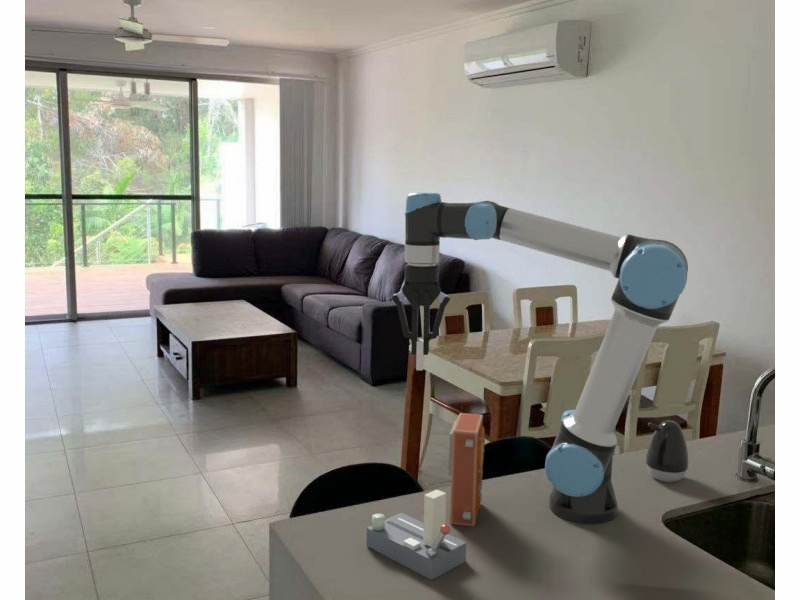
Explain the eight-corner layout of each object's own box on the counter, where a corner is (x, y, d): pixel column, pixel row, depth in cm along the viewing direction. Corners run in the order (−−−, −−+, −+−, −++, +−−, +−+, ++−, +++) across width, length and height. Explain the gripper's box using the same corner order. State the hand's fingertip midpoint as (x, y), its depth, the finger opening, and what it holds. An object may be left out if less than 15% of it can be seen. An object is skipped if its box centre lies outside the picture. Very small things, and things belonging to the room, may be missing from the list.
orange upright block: (483, 500, 174) (477, 529, 160) (453, 497, 175) (444, 526, 161) (486, 412, 171) (480, 434, 156) (456, 410, 172) (447, 431, 157)
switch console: (366, 545, 152) (366, 524, 151) (400, 530, 159) (401, 509, 158) (431, 580, 139) (432, 556, 139) (465, 561, 146) (466, 538, 146)
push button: (369, 527, 151) (369, 516, 150) (378, 523, 152) (378, 512, 152) (378, 531, 149) (378, 520, 148) (387, 527, 151) (387, 516, 150)
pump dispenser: (640, 469, 195) (644, 413, 192) (681, 471, 193) (686, 415, 191) (647, 484, 185) (652, 426, 182) (691, 487, 183) (696, 428, 181)
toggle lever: (424, 552, 140) (440, 524, 137) (431, 548, 142) (447, 521, 138) (430, 559, 139) (446, 531, 136) (437, 555, 141) (453, 528, 137)
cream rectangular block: (423, 543, 145) (424, 494, 143) (435, 537, 147) (436, 489, 145) (432, 547, 143) (433, 498, 141) (444, 541, 145) (446, 493, 144)
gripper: (452, 262, 165) (449, 365, 169) (393, 261, 166) (392, 363, 170) (451, 266, 158) (448, 374, 162) (390, 265, 159) (389, 372, 163)
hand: (419, 368), depth 166 cm, fingers closed
